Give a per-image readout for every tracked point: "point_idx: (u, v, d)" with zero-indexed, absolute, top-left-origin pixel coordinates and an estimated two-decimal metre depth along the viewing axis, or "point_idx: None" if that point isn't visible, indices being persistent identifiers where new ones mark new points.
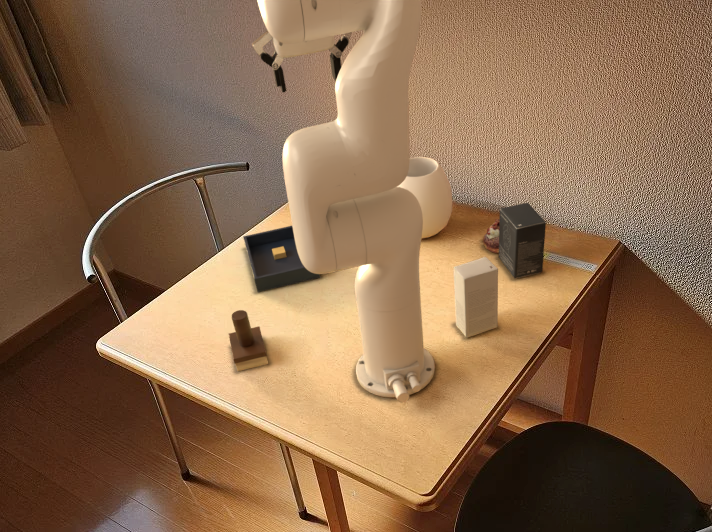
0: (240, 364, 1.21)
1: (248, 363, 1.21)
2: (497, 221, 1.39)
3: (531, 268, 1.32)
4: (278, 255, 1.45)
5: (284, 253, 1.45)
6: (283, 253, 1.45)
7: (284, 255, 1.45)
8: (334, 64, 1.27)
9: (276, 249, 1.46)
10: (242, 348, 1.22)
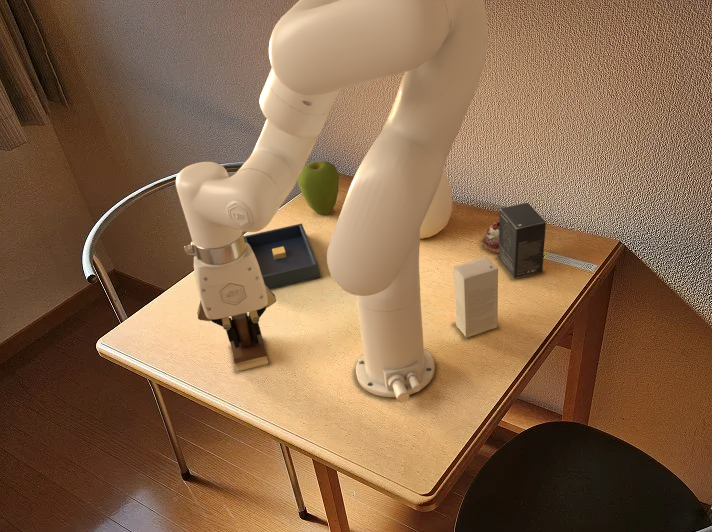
0: (240, 364, 1.21)
1: (248, 363, 1.21)
2: (497, 221, 1.39)
3: (531, 268, 1.32)
4: (278, 255, 1.45)
5: (284, 253, 1.45)
6: (283, 253, 1.45)
7: (284, 255, 1.45)
8: (251, 329, 1.20)
9: (276, 249, 1.46)
10: (242, 348, 1.22)
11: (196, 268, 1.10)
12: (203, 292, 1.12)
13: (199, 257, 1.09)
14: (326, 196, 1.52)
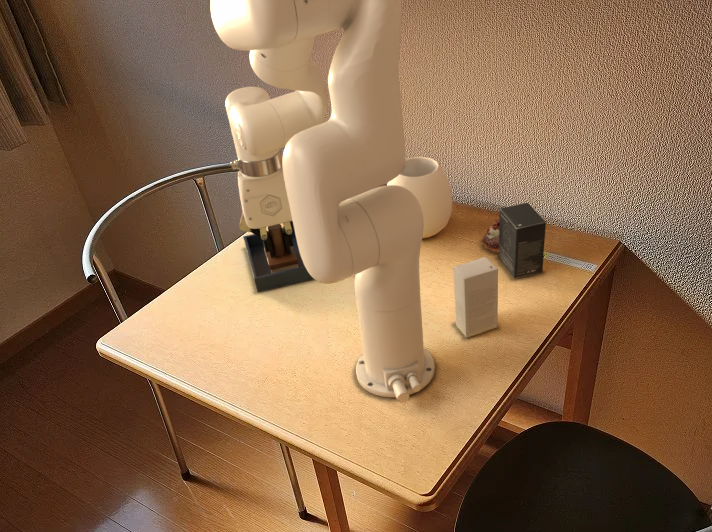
0: (275, 271, 1.39)
1: (282, 270, 1.40)
2: (497, 221, 1.39)
3: (531, 268, 1.32)
4: None
5: None
6: None
7: None
8: (285, 240, 1.38)
9: None
10: (277, 258, 1.40)
11: (240, 181, 1.28)
12: (246, 202, 1.30)
13: (243, 171, 1.27)
14: None
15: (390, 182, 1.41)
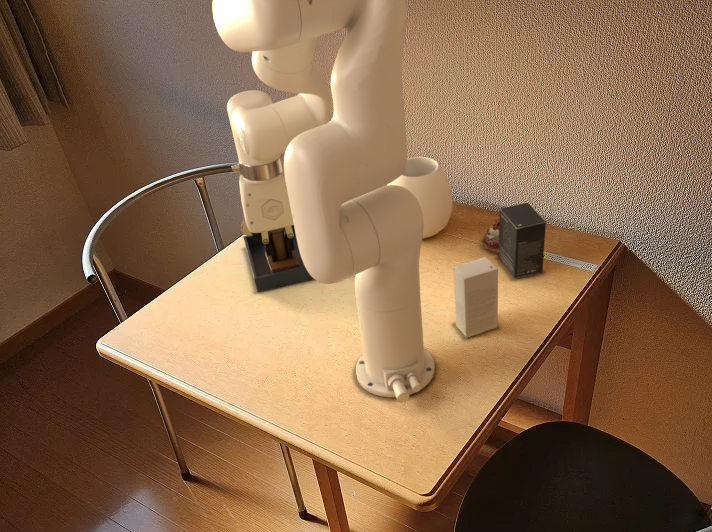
0: None
1: None
2: (497, 221, 1.39)
3: (531, 268, 1.32)
4: None
5: None
6: None
7: None
8: (287, 244, 1.38)
9: None
10: (279, 261, 1.39)
11: (242, 185, 1.27)
12: (247, 207, 1.30)
13: (245, 175, 1.27)
14: None
15: None
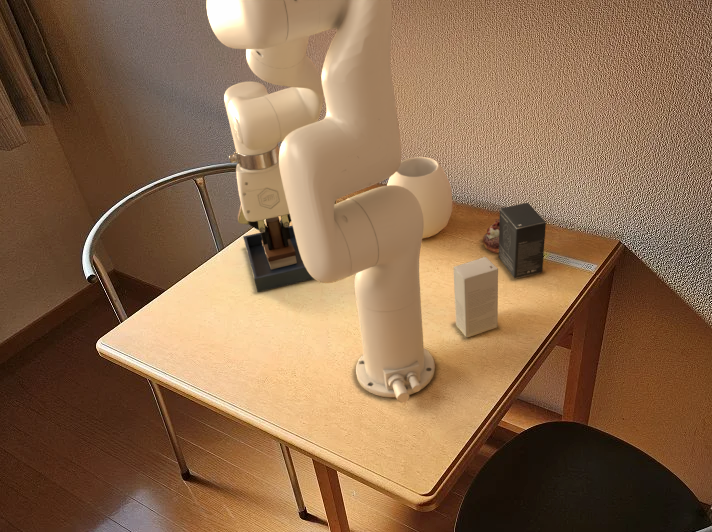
0: (273, 263, 1.42)
1: (280, 261, 1.42)
2: (497, 221, 1.39)
3: (531, 268, 1.32)
4: None
5: None
6: None
7: None
8: (283, 232, 1.41)
9: None
10: (275, 250, 1.42)
11: (238, 174, 1.31)
12: (244, 195, 1.33)
13: (241, 164, 1.30)
14: None
15: (390, 182, 1.41)
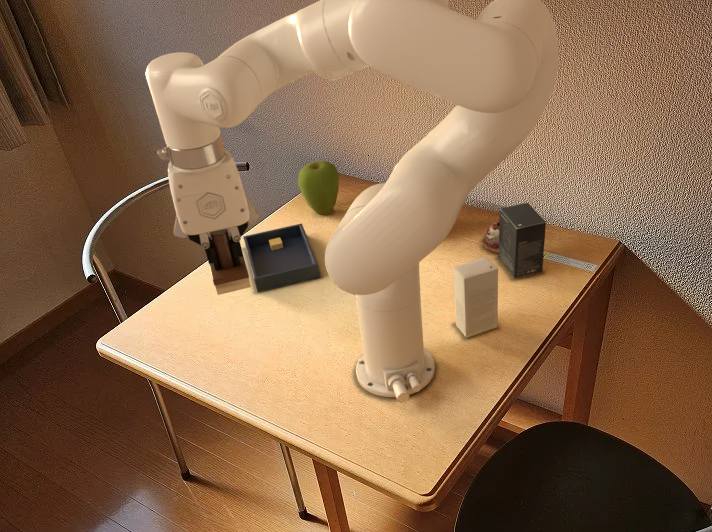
0: (220, 286, 1.11)
1: (229, 285, 1.12)
2: (497, 221, 1.39)
3: (531, 268, 1.32)
4: (275, 246, 1.47)
5: (281, 244, 1.47)
6: (280, 244, 1.47)
7: (281, 246, 1.48)
8: (232, 249, 1.11)
9: (273, 240, 1.48)
10: (223, 270, 1.12)
11: (170, 174, 1.01)
12: (178, 202, 1.03)
13: (173, 161, 1.00)
14: (326, 196, 1.52)
15: None
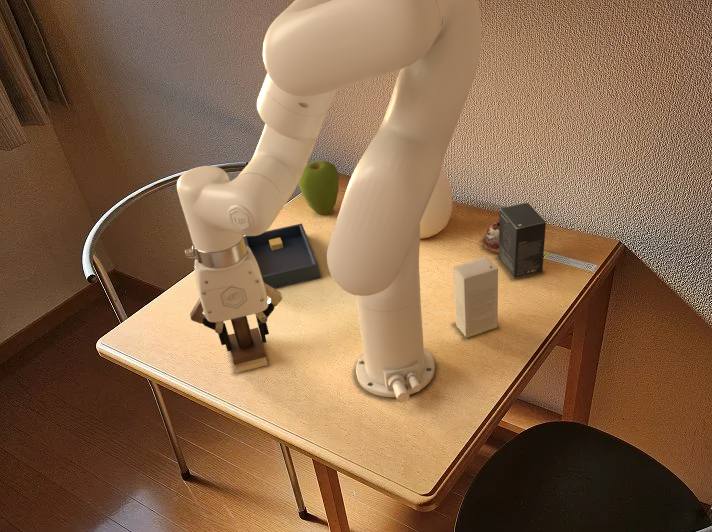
0: (239, 365, 1.21)
1: (247, 364, 1.21)
2: (497, 221, 1.39)
3: (531, 268, 1.32)
4: (275, 246, 1.47)
5: (281, 244, 1.47)
6: (280, 244, 1.47)
7: (281, 246, 1.48)
8: (259, 328, 1.20)
9: (273, 240, 1.48)
10: (242, 350, 1.22)
11: (197, 271, 1.10)
12: (204, 295, 1.12)
13: (200, 260, 1.09)
14: (326, 196, 1.52)
15: None
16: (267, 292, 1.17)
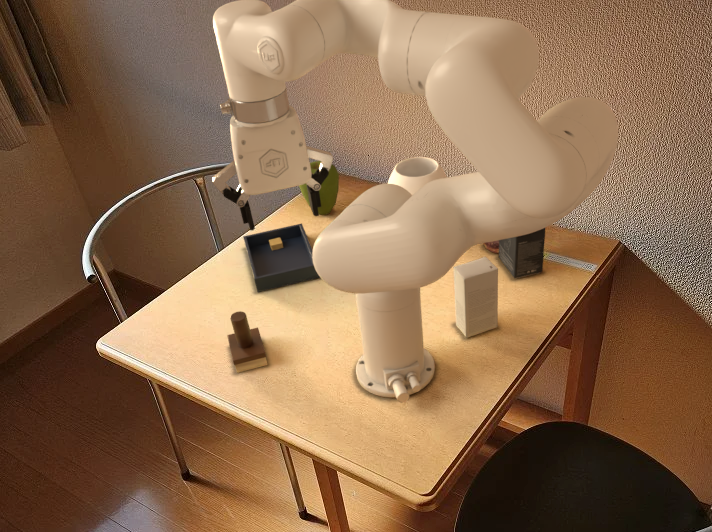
0: (239, 365, 1.21)
1: (247, 364, 1.21)
2: None
3: (531, 268, 1.32)
4: (275, 246, 1.47)
5: (281, 244, 1.47)
6: (280, 244, 1.47)
7: (281, 246, 1.48)
8: (312, 198, 1.06)
9: (273, 240, 1.48)
10: (242, 350, 1.22)
11: (233, 129, 0.97)
12: (240, 159, 0.99)
13: (237, 116, 0.96)
14: (326, 196, 1.52)
15: (390, 182, 1.41)
16: (314, 155, 1.03)
